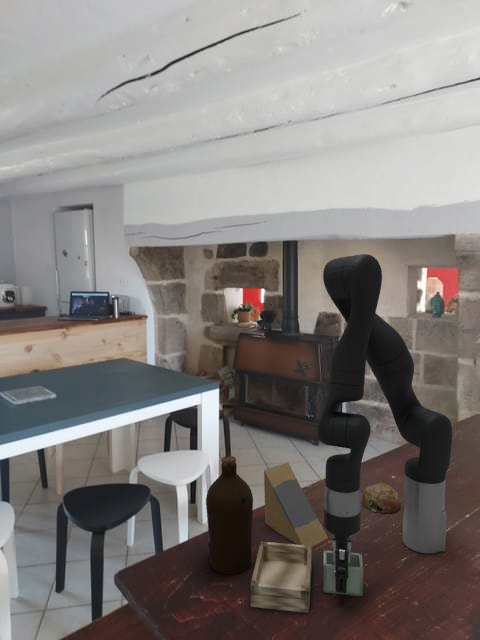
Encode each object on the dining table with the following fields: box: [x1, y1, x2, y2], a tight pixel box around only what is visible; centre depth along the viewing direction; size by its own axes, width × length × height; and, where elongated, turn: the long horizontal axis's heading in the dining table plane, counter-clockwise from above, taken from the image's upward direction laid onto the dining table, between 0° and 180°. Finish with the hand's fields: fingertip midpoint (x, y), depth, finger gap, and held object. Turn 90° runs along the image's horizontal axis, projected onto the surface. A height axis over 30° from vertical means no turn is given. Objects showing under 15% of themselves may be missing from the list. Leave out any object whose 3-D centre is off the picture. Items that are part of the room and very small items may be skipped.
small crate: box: [322, 550, 364, 597], centre depth 105 cm, size 8×6×6 cm
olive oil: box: [205, 455, 254, 576], centre depth 113 cm, size 11×11×25 cm
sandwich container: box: [263, 461, 329, 547], centre depth 127 cm, size 9×15×15 cm, turn 37°
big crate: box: [249, 541, 313, 614], centre depth 106 cm, size 12×16×5 cm
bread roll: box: [362, 482, 400, 514], centre depth 140 cm, size 10×10×8 cm
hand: (340, 578), depth 106 cm, fingers open, 8 cm apart
